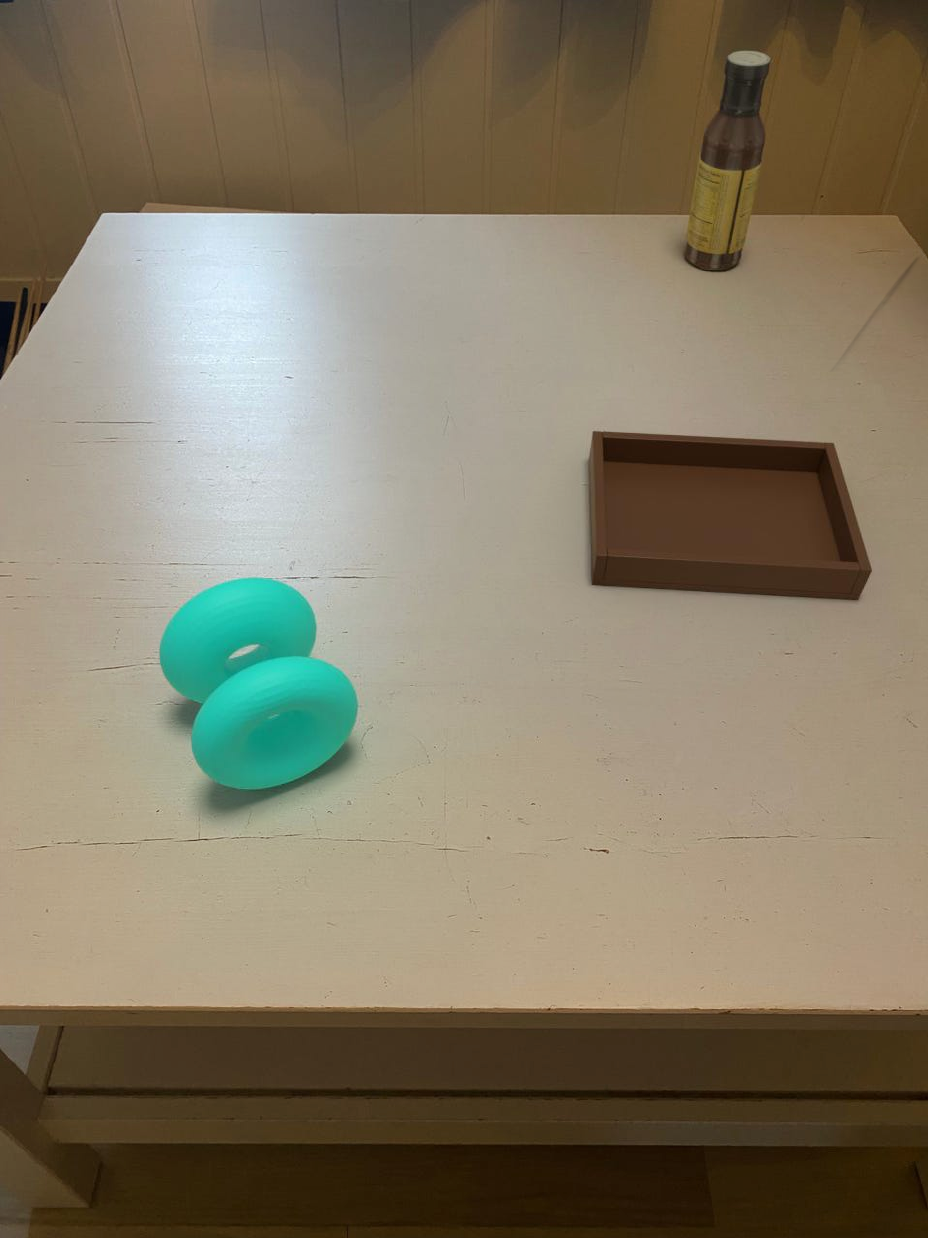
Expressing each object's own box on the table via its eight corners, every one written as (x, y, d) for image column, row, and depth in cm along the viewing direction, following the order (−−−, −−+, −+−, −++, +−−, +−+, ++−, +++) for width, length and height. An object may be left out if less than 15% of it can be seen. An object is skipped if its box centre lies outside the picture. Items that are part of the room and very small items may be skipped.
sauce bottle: (727, 242, 105) (772, 42, 90) (748, 269, 101) (799, 65, 86) (672, 247, 105) (708, 46, 90) (692, 275, 100) (733, 70, 86)
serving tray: (822, 472, 79) (834, 442, 77) (858, 600, 70) (872, 570, 67) (588, 460, 80) (592, 430, 78) (591, 584, 70) (596, 555, 68)
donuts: (314, 650, 66) (297, 547, 58) (370, 758, 60) (358, 660, 53) (173, 701, 63) (136, 599, 55) (217, 821, 57) (182, 725, 50)
